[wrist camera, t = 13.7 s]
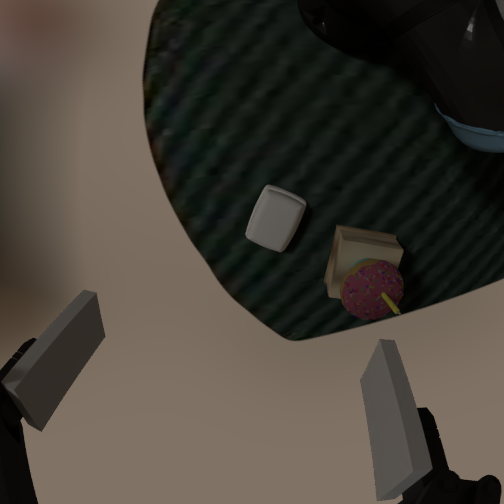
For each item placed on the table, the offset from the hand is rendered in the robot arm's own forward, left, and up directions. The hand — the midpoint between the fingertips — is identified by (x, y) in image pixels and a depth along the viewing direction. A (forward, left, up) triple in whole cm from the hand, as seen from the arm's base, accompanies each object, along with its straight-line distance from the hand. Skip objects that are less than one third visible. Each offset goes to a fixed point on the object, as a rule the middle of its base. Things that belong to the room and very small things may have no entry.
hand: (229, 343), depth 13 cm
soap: (+5, +1, -33) cm, 34 cm away
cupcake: (+9, +15, -28) cm, 33 cm away
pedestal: (+10, +15, -33) cm, 37 cm away
